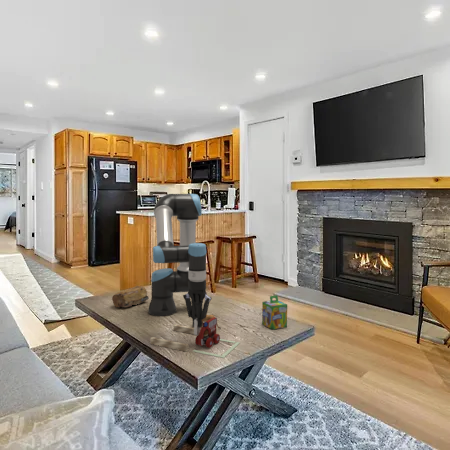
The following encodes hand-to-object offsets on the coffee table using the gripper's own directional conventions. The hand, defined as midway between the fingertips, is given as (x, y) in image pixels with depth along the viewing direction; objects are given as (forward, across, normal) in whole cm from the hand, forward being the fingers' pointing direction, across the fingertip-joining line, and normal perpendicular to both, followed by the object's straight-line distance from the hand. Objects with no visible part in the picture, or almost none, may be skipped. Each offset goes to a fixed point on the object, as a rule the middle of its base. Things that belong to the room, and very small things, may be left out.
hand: (197, 334), depth 154 cm
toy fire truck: (+4, +4, +1) cm, 6 cm away
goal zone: (+4, +8, 0) cm, 9 cm away
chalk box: (+4, +23, +36) cm, 43 cm away
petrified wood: (+4, -64, +32) cm, 72 cm away
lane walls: (+4, -9, 0) cm, 10 cm away
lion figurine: (+4, -6, +18) cm, 19 cm away
